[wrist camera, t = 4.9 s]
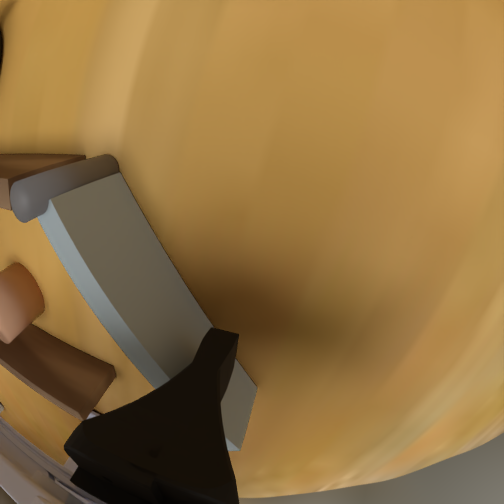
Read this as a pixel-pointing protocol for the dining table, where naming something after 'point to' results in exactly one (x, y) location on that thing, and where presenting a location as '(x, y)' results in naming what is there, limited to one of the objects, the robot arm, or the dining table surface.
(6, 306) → the tan rounded cylinder
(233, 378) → the door
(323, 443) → the dining table surface
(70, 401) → the cubby
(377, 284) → the dining table surface
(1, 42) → the mug
